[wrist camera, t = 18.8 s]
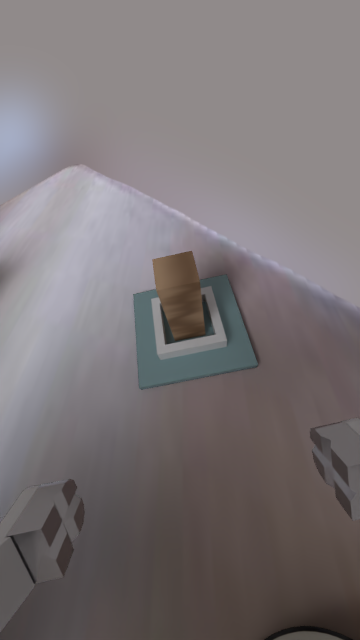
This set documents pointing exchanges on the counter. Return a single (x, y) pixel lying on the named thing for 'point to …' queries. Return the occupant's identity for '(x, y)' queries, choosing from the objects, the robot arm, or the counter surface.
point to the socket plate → (191, 339)
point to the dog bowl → (307, 634)
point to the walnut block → (180, 294)
